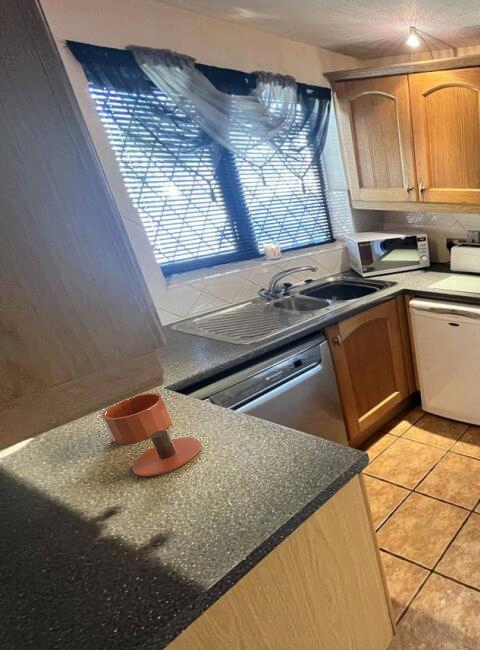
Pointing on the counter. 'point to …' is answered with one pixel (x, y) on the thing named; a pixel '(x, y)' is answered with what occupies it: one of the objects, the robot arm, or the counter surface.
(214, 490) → the counter surface
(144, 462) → the lid
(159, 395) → the pot
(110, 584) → the counter surface
